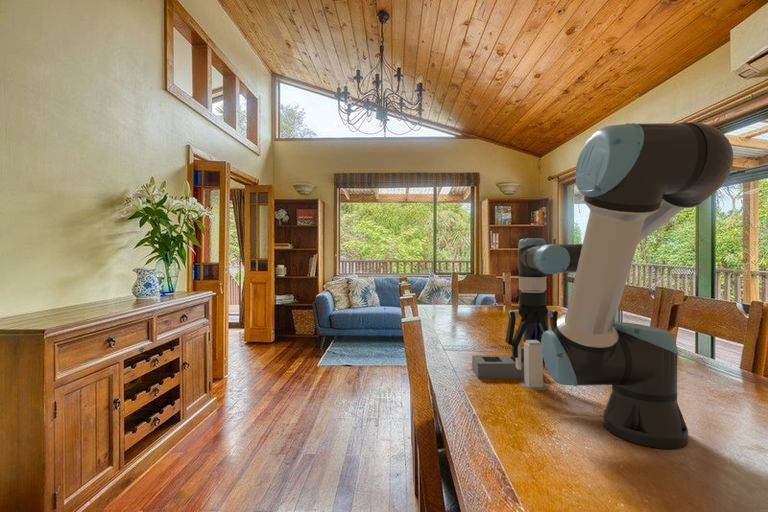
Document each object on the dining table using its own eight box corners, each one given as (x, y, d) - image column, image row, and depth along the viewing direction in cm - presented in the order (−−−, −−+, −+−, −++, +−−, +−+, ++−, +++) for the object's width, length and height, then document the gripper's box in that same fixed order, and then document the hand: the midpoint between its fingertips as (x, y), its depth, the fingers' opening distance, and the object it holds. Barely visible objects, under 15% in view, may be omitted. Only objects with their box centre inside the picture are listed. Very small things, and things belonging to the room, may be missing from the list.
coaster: (553, 391, 104) (553, 389, 104) (524, 391, 104) (524, 389, 104) (542, 381, 112) (542, 379, 112) (515, 381, 112) (515, 379, 112)
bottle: (554, 364, 128) (553, 278, 127) (528, 364, 128) (527, 279, 127) (543, 357, 137) (543, 276, 136) (519, 357, 137) (518, 277, 137)
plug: (543, 387, 106) (542, 343, 106) (529, 387, 106) (528, 343, 106) (537, 382, 110) (537, 339, 110) (524, 382, 110) (523, 339, 110)
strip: (543, 379, 113) (543, 350, 113) (478, 379, 114) (477, 350, 114) (531, 369, 123) (531, 342, 123) (471, 369, 124) (471, 342, 124)
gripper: (562, 289, 111) (563, 364, 111) (493, 290, 112) (494, 364, 112) (574, 292, 103) (575, 372, 103) (500, 292, 104) (501, 372, 104)
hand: (533, 368), depth 108 cm, fingers open, 8 cm apart
